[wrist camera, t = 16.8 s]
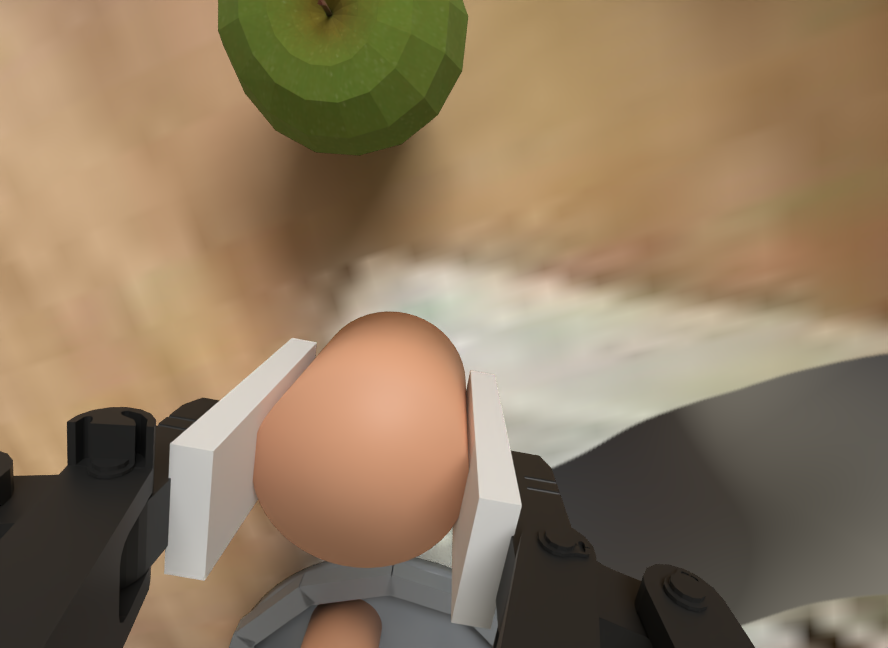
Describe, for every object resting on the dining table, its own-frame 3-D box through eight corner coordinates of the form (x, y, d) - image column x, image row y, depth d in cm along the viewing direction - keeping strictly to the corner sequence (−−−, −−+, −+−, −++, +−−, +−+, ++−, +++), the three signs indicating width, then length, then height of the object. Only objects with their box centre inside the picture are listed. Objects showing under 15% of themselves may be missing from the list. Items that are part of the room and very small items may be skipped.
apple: (491, 41, 25) (522, -77, 14) (415, 195, 27) (387, 199, 16) (334, -52, 24) (231, -258, 13) (267, 114, 26) (128, 59, 15)
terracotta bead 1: (398, 280, 15) (367, 326, 10) (495, 392, 16) (514, 490, 11) (288, 373, 16) (205, 461, 11) (386, 475, 17) (353, 602, 12)
